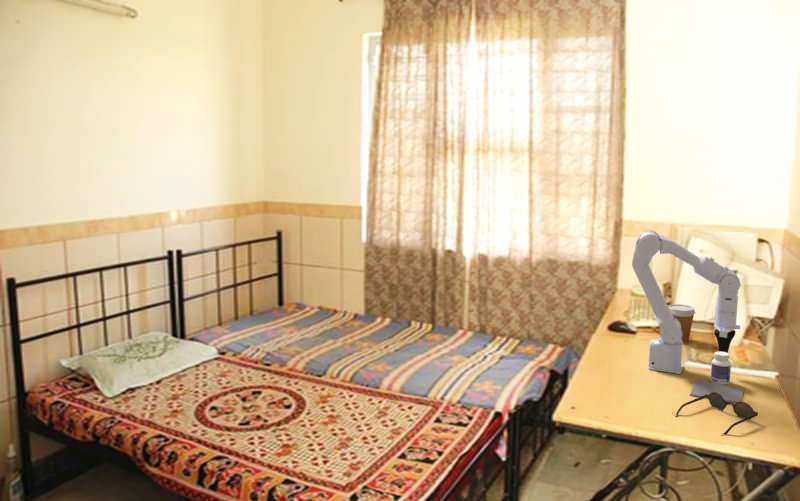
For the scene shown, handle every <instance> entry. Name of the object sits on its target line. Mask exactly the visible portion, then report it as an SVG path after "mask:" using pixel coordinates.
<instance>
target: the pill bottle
mask: <svg viewBox="0 0 800 501" xmlns="http://www.w3.org/2000/svg"><path fill="white" fill-rule="evenodd" d="M713 354H714V355H713V359H712V360H711V362H710V363H711V365H710V378H709V380H710V383H716V384H722V385H729V384H730V381H731V370H732V363H731V361H730V360H729V359H730V354H729V352H728V353H726V352H721V351H719V350H718V351H715V352H714V353H713Z"/></svg>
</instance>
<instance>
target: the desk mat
mask: <svg viewBox="0 0 800 501" xmlns="http://www.w3.org/2000/svg"><path fill="white" fill-rule="evenodd" d="M744 390H745V387H740V386H735V385H729V384H727V385H722V384H716V383H713V382H711V381H710V382H709V381H703V380H696V379H695V380H694V382H693V385H692V388H691V390H690V394H689V396H691V397H696V398H699V397H701V396H704V395H706V394H707V395H710V393H712V392H716V393H718V394H720V395H721V396H722V397H723V399H724V400H725V401H727V402H731V403H733V404H735V403H737V402H740V401H741V402H743V397H744Z"/></svg>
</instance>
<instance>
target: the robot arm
mask: <svg viewBox="0 0 800 501" xmlns="http://www.w3.org/2000/svg"><path fill="white" fill-rule="evenodd" d="M658 252H659V254H660V255H664V254H665V255H666V254H670V255H672V256H674V257H675V258H678V259H679V260H681V261H683V262H684V263H686V264H688V265H690V266H692V267H693V271H694V273H695V274H696V275H699V276H700V277H701V278H703V279H705V280H706V281H708V282H710V283H712V284H714V285H717V286H718V287H717V288H718V289H717V295H716V305H715V306H716V307H715V319H714V320H715V321H714V324H713V325H714V328H715V329H714V331H713V332H714V333H713V334H714V337H715V338H716V341H717V347H718V348H717V349H718V351H721V352H726V353H728V354H729V349H730V346H731V344H732V343H731V342H732V340H733V339H734V337H735V336H736V332H737V331H736V330H740V329H741V325H739V324H737V315H738V302H739V296H738V295H739V290H740V288H741V287H742V286H741V285H742V284H741V280H740V278H739V277H738V275H737V273H736V272H734V271H733V270H732V269H730V268H729V267H728V266H725V267H724V266H723V265H721V264H719V263H717V262H716V261H715V259H714V258H713V257H711V256H710V257H708V256H702V257H700V256H697V255H695V254H694V253H693V252H691V251H690V250H688V249H686V248H685V247H683V246H682V245H680V244H679V243H677V242H676V241H674V240H672V239H671V238H669V237H667V236H665V235H663V234H658V232H656V231H655V230H652V229H650V230H646V231H643V232H642V233H641V234H640V235H639V237H638V238H637V239H636V242H635V246H634V252H633V255H632V256H633V257H632V261H631V267H632V269H633V271H634V273H635V275H636V277H637V279H638V281H639V284H640V286H641V288H642V290H643V292H644V294H645V297H646V299H647V301H648V303H649V305H650V307H651V309H652V311H653V314H654V315H655V319H656V322H657V324H658V326H659V329H660V330H659V332H660V333H659V334H660V335H659V336H658V338H656V339H655V338H652V339H651V340H650V344H649V352H648V353H649V354H648V355H649V356H648V370H652V371H659V372H665V373H671V374H672V373H673V374H677V375H678V374H679V375H680V374H682V372H683V369H684V366H685V365H684V364H682V358H683V344H684V343H683V341H682V340H681V339H682V331H681V324H680V322H679V321H678V320H677V319H676V318H675V317H674V316H673V314H672V312H671V311H670V309H669V307H668V306H669V305H668V303H667V301H666V299H665V297H664V295H663V293H662V290H661V288H660V286H659V284H658V282H657V279H656V277H655V276H654V274H653V271H652V269H651V267H650V263H651V261H652V259H653V257H654V256H655V255H656V254H657V253H658Z"/></svg>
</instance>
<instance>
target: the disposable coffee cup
mask: <svg viewBox="0 0 800 501" xmlns="http://www.w3.org/2000/svg"><path fill="white" fill-rule="evenodd" d="M668 307H669V309H670V311H671V312H672V314H673V316H674V317H675V318H676V319H677V320H678V321H679V322H680V324H681V331H682V339H681V340H682V341H683V344H685V343H688V342H689V340H690V334H691V331H692V327H693V326H692V325H693V322H694V317H695V314H696V311H695V308H694V306H691V305H687V304H681V303H680V304H679V303H678V304H677V303H676V304H669V305H668Z"/></svg>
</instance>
